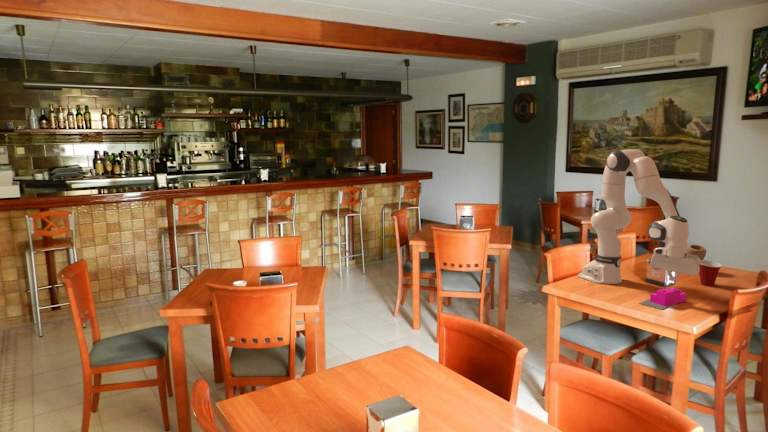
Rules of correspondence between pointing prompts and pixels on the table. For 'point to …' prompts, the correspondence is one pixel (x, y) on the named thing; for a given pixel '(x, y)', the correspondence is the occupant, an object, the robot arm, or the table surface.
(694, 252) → the stone cup
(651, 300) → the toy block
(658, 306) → the rubber mat
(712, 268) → the plastic cup
